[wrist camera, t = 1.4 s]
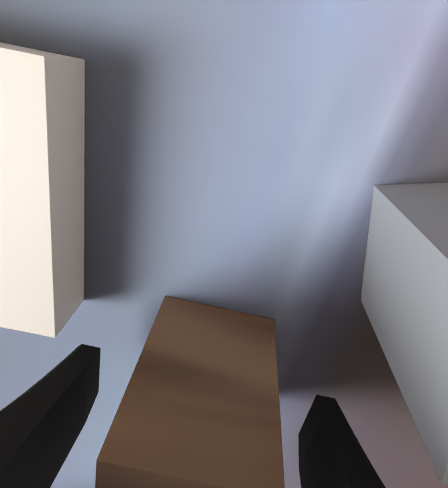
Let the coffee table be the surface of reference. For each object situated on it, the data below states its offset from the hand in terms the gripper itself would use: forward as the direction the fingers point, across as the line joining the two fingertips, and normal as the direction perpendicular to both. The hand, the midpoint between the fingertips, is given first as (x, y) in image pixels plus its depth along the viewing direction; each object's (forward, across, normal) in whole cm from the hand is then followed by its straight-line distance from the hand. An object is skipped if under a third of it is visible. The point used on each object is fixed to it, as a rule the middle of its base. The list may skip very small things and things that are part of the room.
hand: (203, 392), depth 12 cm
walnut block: (+2, 0, 0) cm, 2 cm away
